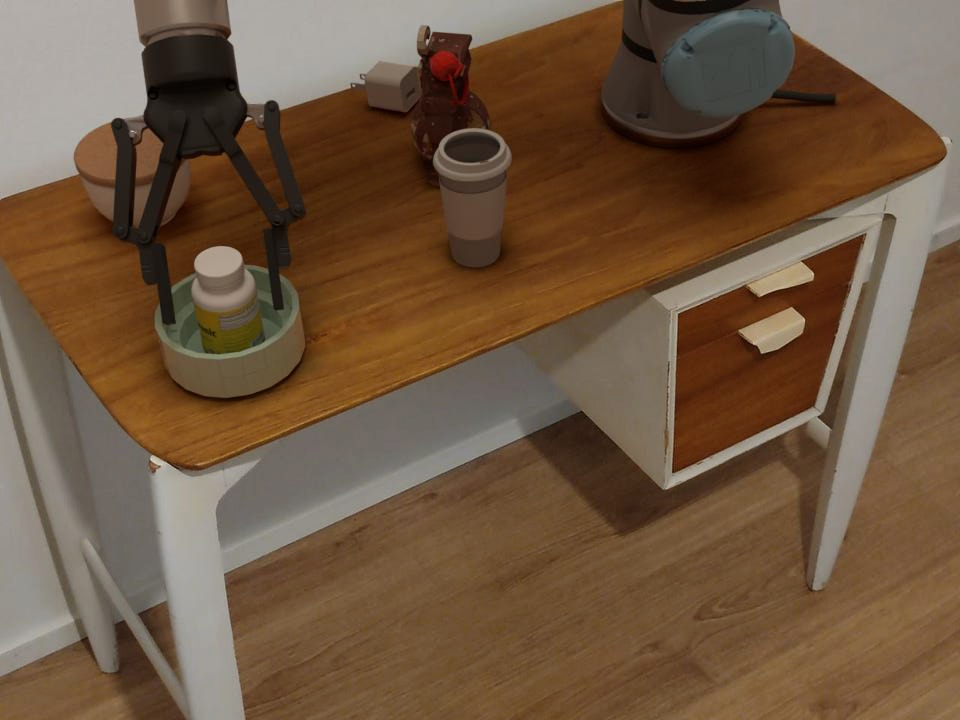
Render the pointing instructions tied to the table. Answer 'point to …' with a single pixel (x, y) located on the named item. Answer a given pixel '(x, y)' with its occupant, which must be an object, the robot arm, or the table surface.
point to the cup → (473, 193)
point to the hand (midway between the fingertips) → (224, 315)
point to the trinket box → (99, 172)
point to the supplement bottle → (226, 302)
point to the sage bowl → (238, 368)
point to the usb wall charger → (391, 86)
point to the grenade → (444, 95)
